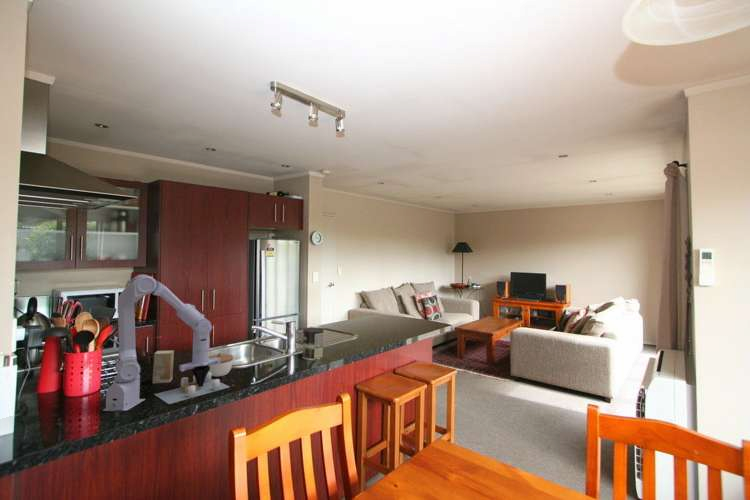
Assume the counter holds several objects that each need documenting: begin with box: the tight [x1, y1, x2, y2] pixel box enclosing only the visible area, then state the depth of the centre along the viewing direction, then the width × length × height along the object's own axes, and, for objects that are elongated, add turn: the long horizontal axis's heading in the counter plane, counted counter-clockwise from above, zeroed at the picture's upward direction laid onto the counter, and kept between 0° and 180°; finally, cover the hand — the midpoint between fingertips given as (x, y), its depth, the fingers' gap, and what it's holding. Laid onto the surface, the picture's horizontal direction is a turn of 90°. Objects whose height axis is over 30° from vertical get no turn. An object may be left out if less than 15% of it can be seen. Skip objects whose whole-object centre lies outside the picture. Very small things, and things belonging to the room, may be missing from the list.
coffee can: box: [302, 327, 324, 361], centre depth 185 cm, size 10×10×14 cm
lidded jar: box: [208, 352, 234, 378], centre depth 155 cm, size 11×11×9 cm
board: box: [154, 372, 230, 405], centre depth 136 cm, size 22×13×4 cm, turn 141°
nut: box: [183, 382, 198, 393], centre depth 135 cm, size 4×5×2 cm
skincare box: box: [152, 350, 175, 384], centre depth 145 cm, size 6×4×12 cm
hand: (200, 386), depth 138 cm, fingers closed
